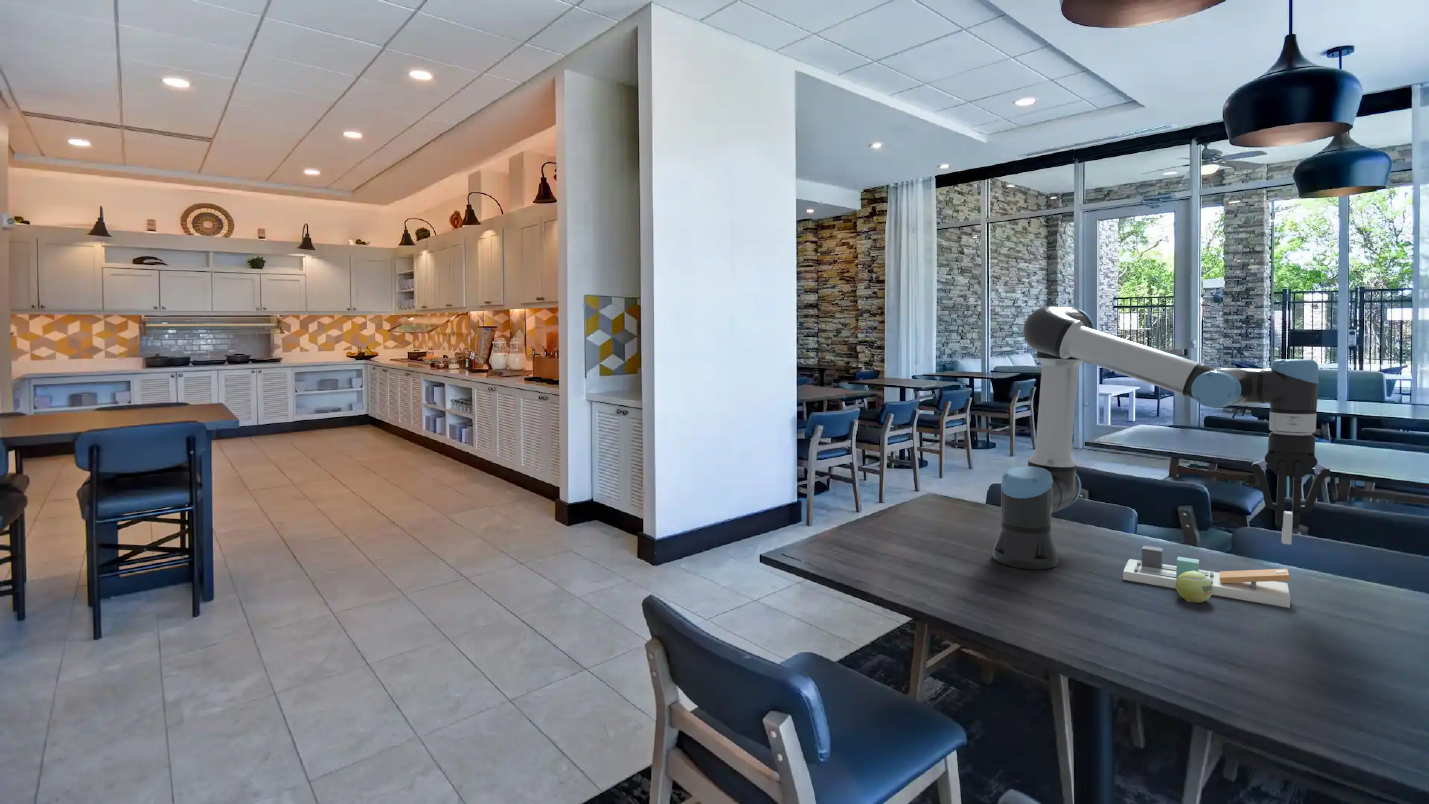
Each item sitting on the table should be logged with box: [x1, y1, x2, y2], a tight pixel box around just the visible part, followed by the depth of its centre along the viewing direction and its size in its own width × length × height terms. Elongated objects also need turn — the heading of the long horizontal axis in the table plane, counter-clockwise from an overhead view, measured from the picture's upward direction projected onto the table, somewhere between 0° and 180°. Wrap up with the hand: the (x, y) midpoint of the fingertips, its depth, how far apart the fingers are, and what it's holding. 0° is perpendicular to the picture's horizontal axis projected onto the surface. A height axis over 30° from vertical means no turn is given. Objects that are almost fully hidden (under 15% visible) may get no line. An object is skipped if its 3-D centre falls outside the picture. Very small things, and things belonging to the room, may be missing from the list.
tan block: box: [1219, 568, 1291, 583], centre depth 149 cm, size 12×5×1 cm, turn 52°
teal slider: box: [1176, 556, 1200, 577], centre depth 154 cm, size 4×3×4 cm
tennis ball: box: [1175, 571, 1213, 603], centre depth 147 cm, size 6×7×7 cm
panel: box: [1122, 558, 1291, 609], centre depth 155 cm, size 30×11×3 cm, turn 53°
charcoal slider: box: [1141, 545, 1164, 568], centre depth 163 cm, size 4×3×4 cm
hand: (1286, 542), depth 145 cm, fingers closed
